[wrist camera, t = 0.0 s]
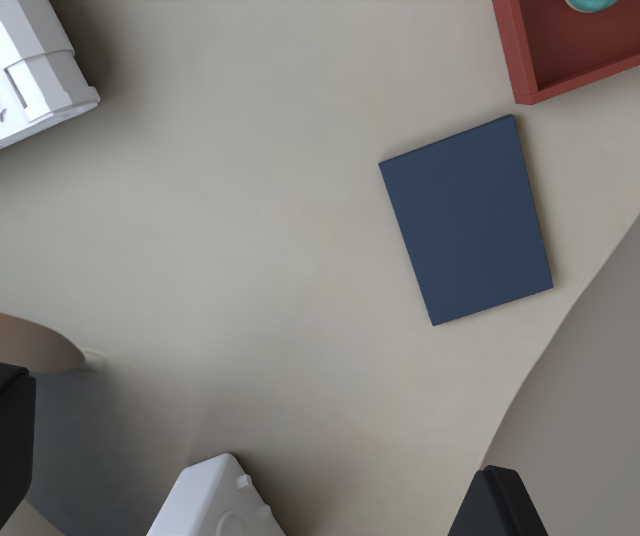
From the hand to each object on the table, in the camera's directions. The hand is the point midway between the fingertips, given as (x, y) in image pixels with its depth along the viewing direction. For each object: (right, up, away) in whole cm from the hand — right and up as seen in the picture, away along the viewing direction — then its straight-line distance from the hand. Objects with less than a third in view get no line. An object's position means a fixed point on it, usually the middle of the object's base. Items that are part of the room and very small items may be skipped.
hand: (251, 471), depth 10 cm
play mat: (+15, +8, +37) cm, 40 cm away
